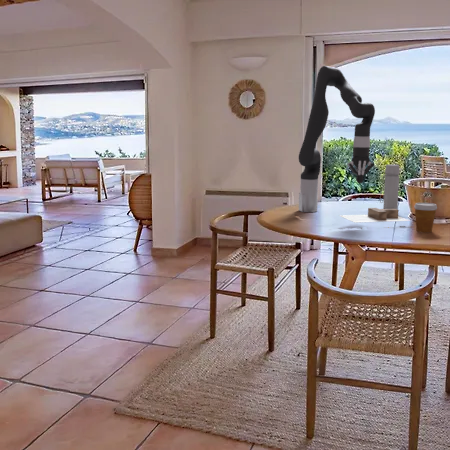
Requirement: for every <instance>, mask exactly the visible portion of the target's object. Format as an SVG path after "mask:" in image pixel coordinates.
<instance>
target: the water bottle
mask: <svg viewBox="0 0 450 450" xmlns="http://www.w3.org/2000/svg"><path fill="white" fill-rule="evenodd" d="M384 169H385V171H384V174H383V175H382V176H383V179H382V180H384V183H382V185H381V186H382V188H381V189H380V190H381V191H380V192H382V190H383V194H380V196H379V198H381V196H382V201H381V200H379V201H380V202H379V203H380V204H382V203H383V208H382V209H397V210H399V209H398V208H399V207H398V206H399V205H398V204H399V188H400V187H399V186H400V172H401V171H400V165H399V164H386V165H385V168H384Z"/></svg>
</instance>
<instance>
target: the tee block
mask: <svg viewBox="0 0 450 450" xmlns="http://www.w3.org/2000/svg"><path fill="white" fill-rule="evenodd" d="M399 211H400V210H399V209H383V208H377V207H368V209H367V215H368V216H369V217H372V218H374V219H377V220H386V218H398V216H399Z"/></svg>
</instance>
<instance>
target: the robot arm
mask: <svg viewBox="0 0 450 450" xmlns="http://www.w3.org/2000/svg"><path fill="white" fill-rule="evenodd" d="M315 83H316V84H315V90H314V95H313V100H312V104H311V105H312V106H311V110H310V113H309V118H308V121H307V122H308V123H307V126H306V130H305V134H304V137H303V138H304V139H303V142H302V144H301V148H300V150H299V152H298V153H299V154H298V162H299V164H300V165H301V166H303V167H304V169H303V171H302V172H301V173H300V188H299V193H298V211H300V212H302V213H314V212H316V213H317V212H318V195H319V194H318V193H319V192H318V191H319V175H320V173H321V163H322V158H321V157H322V156H321V153H320V151H319V150H318V149H317V148H316V145H317V142H318V140H319V138H320V136H321V135H322V134H323V131H324V130H325V128H326V126H327V123H328V119H329V106H328V103H327V98H326V92H327V88H328V87H335V89H337V90H339V93H340V94H339V95H340V98H341V99H342V101H343V102H344V103H345V105H347V106H348V109H349V110H350V114H352V116H353V117H355V118H357V119H362V120H361V122H359V123H357V124H355V126H354V136H353V145H352V149H353V150H352V158H351V160H350V162H348V163H347V164H346V165H347V167H348V168H349V170H350V171H351V173H352V174H354V175H356V177H355V179H356V182H357V184H362V183H363V182H364V175H366V174H367V175H368V173H369V172H370V170H372V168H373V167H374V166H375V164H374V163H373V162H371V160H370V151H371V150H370V149H371V148H370V147H371V139H370V135H371V127H372V124H373V121H374V118H375V113H376V110H375V106H374V104H373V103H372V102H363V99H362V97H361V95H360V94H359V93H358V92H357V91H356V90H355V89H353V87H352V86H351V85H350V83H349V81H348V80H347V79H346V77H345V76H344V74H343V72H342V71H341V70H340V69H339V68H337V67H333V66H328V65H323V66H321V67H320V68H319V70H318V73H317V77H316V82H315Z"/></svg>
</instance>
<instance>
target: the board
mask: <svg viewBox="0 0 450 450" xmlns="http://www.w3.org/2000/svg"><path fill="white" fill-rule="evenodd" d="M338 216H339V217H341V218H343V219H346V220H348V221H350V222H352V223H354V224H355V223H381V222H383V223H384V222H410V221H411V220H410V219H407V218H404V217H401V216H399V215H398V218H386V220H377V219H374V218H372V217H369V216H368V214H345V215H344V214H341V215H338Z"/></svg>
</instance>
